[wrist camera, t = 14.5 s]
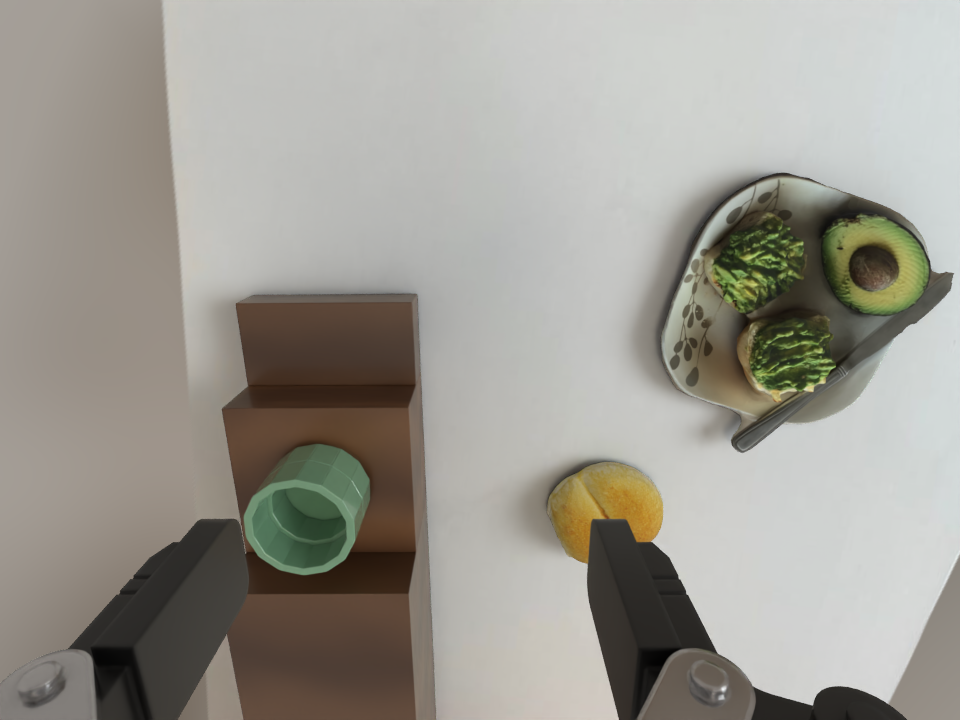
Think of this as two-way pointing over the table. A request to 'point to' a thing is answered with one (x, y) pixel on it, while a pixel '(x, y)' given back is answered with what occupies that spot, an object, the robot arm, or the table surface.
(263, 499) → the cup
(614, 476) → the bread roll
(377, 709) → the wooden stair steps
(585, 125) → the table surface
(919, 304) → the salad plate
